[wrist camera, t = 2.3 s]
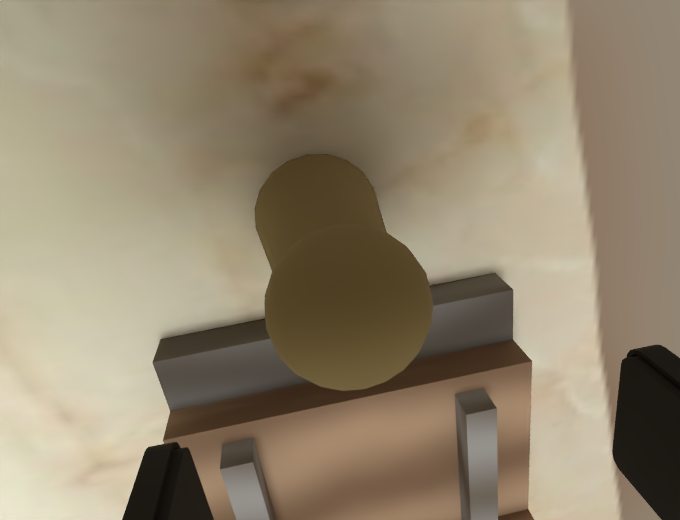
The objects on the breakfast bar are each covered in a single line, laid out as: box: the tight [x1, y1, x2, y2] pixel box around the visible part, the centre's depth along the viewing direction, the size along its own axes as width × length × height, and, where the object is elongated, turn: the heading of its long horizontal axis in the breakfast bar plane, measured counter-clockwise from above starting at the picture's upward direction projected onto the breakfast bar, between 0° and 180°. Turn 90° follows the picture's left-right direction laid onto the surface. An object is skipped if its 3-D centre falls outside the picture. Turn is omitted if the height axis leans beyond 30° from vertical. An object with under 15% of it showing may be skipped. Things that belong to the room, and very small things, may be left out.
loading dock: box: [153, 273, 534, 520], centre depth 25 cm, size 15×18×8 cm
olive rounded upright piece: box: [255, 155, 433, 391], centre depth 19 cm, size 6×6×11 cm
